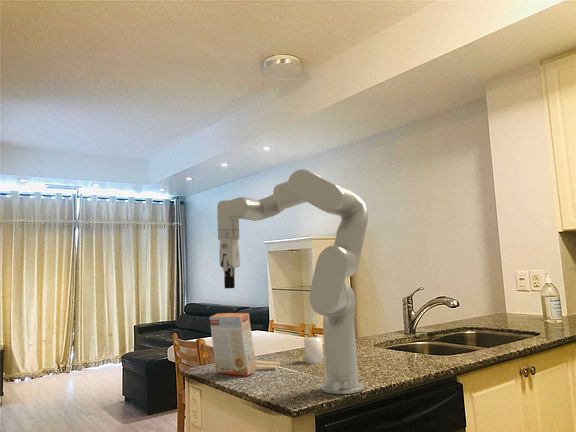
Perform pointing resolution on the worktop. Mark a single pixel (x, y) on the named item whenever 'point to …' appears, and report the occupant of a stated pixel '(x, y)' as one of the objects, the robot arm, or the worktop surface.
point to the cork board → (267, 364)
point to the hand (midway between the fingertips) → (229, 288)
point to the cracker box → (233, 343)
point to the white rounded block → (313, 350)
